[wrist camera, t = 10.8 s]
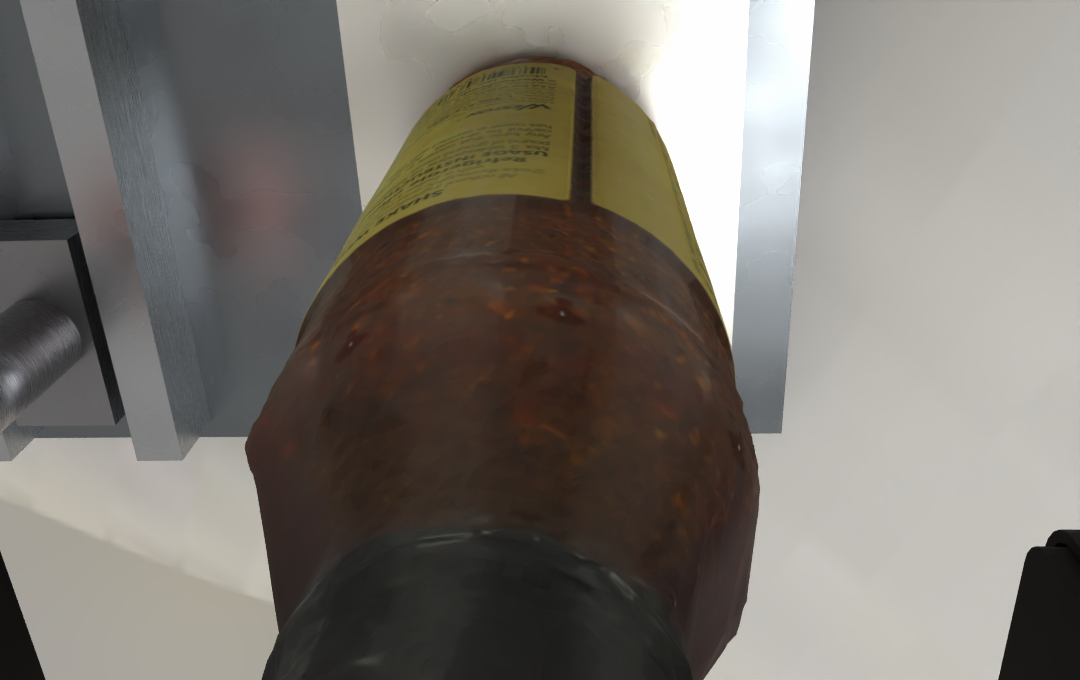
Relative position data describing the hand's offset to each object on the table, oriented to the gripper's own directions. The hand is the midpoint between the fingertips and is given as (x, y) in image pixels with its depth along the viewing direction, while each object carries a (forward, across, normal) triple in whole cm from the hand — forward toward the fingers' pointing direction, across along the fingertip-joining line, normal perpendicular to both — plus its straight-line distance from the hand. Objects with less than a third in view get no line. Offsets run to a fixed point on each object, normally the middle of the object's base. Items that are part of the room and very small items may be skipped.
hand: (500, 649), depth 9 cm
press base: (+17, +6, 0) cm, 18 cm away
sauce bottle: (+16, 0, 0) cm, 16 cm away
